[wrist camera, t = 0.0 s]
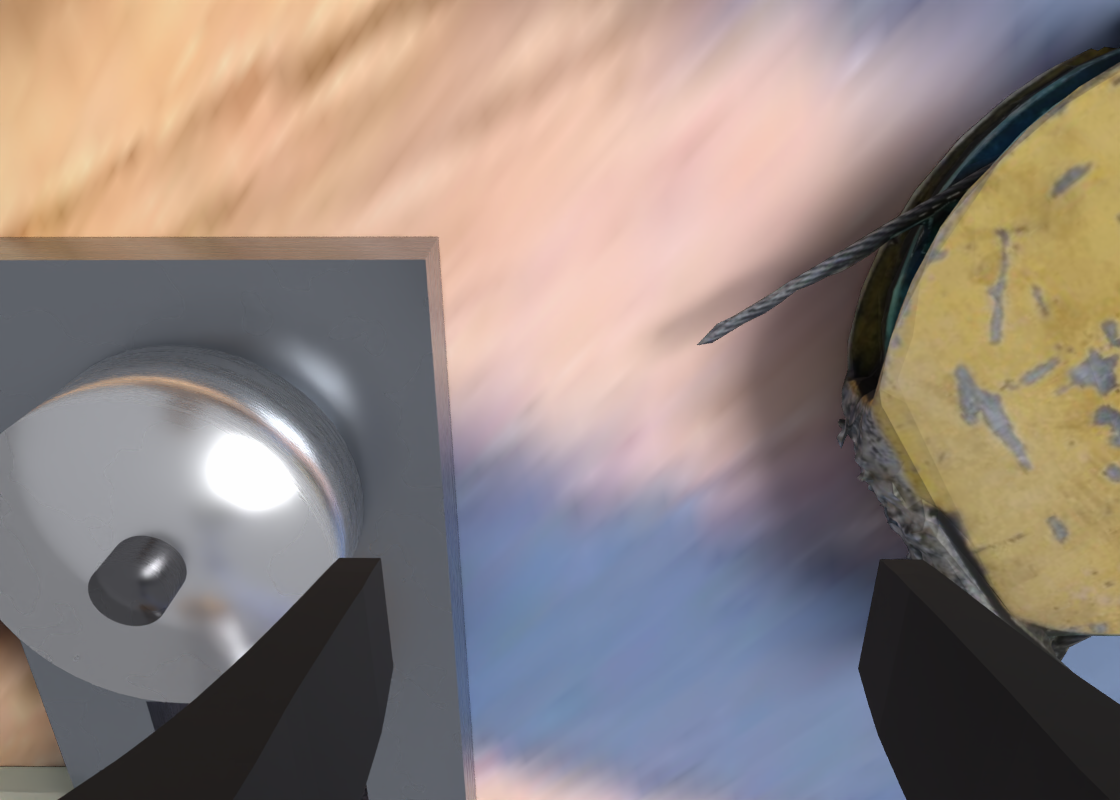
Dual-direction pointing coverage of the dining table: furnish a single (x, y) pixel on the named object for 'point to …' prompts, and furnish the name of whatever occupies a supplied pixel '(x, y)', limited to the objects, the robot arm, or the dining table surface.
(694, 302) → the dining table surface
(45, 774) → the tray
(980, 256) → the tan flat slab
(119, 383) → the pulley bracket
